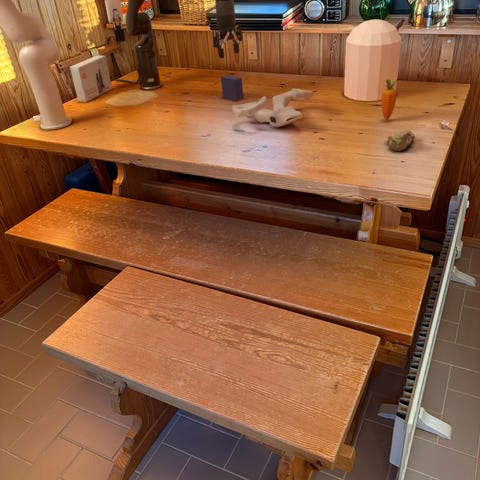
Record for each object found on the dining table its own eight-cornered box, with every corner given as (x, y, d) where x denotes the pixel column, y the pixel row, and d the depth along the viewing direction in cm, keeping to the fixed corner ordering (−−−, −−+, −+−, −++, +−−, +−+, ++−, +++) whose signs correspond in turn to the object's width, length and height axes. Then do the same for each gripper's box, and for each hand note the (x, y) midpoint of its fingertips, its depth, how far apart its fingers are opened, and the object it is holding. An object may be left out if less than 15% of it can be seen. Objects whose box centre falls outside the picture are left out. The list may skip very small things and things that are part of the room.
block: (236, 101, 198) (234, 80, 193) (222, 97, 203) (220, 77, 198) (243, 98, 200) (241, 77, 195) (229, 95, 206) (227, 74, 201)
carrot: (394, 118, 167) (398, 76, 158) (393, 123, 163) (397, 80, 154) (379, 117, 168) (383, 75, 160) (378, 122, 165) (382, 80, 156)
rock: (408, 140, 153) (379, 139, 152) (414, 122, 149) (384, 120, 148) (421, 154, 144) (391, 153, 143) (428, 135, 140) (396, 133, 139)
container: (365, 104, 181) (370, 27, 165) (333, 91, 197) (335, 20, 181) (407, 93, 187) (416, 18, 171) (373, 81, 203) (378, 12, 188)
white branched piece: (230, 133, 167) (227, 101, 161) (244, 110, 188) (241, 81, 182) (308, 133, 161) (308, 99, 155) (313, 109, 182) (314, 78, 176)
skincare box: (87, 102, 214) (77, 67, 204) (78, 102, 215) (68, 66, 206) (113, 88, 229) (105, 54, 220) (104, 88, 231) (96, 54, 222)
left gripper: (98, -17, 163) (109, 35, 173) (98, -11, 149) (110, 45, 159) (119, -19, 164) (129, 33, 174) (122, -14, 151) (132, 42, 160)
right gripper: (218, 16, 176) (223, 60, 185) (244, 9, 184) (247, 52, 193) (205, 15, 181) (210, 58, 190) (231, 9, 189) (235, 50, 198)
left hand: (120, 39), depth 167 cm, fingers open, 9 cm apart
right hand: (229, 55), depth 192 cm, fingers open, 8 cm apart
